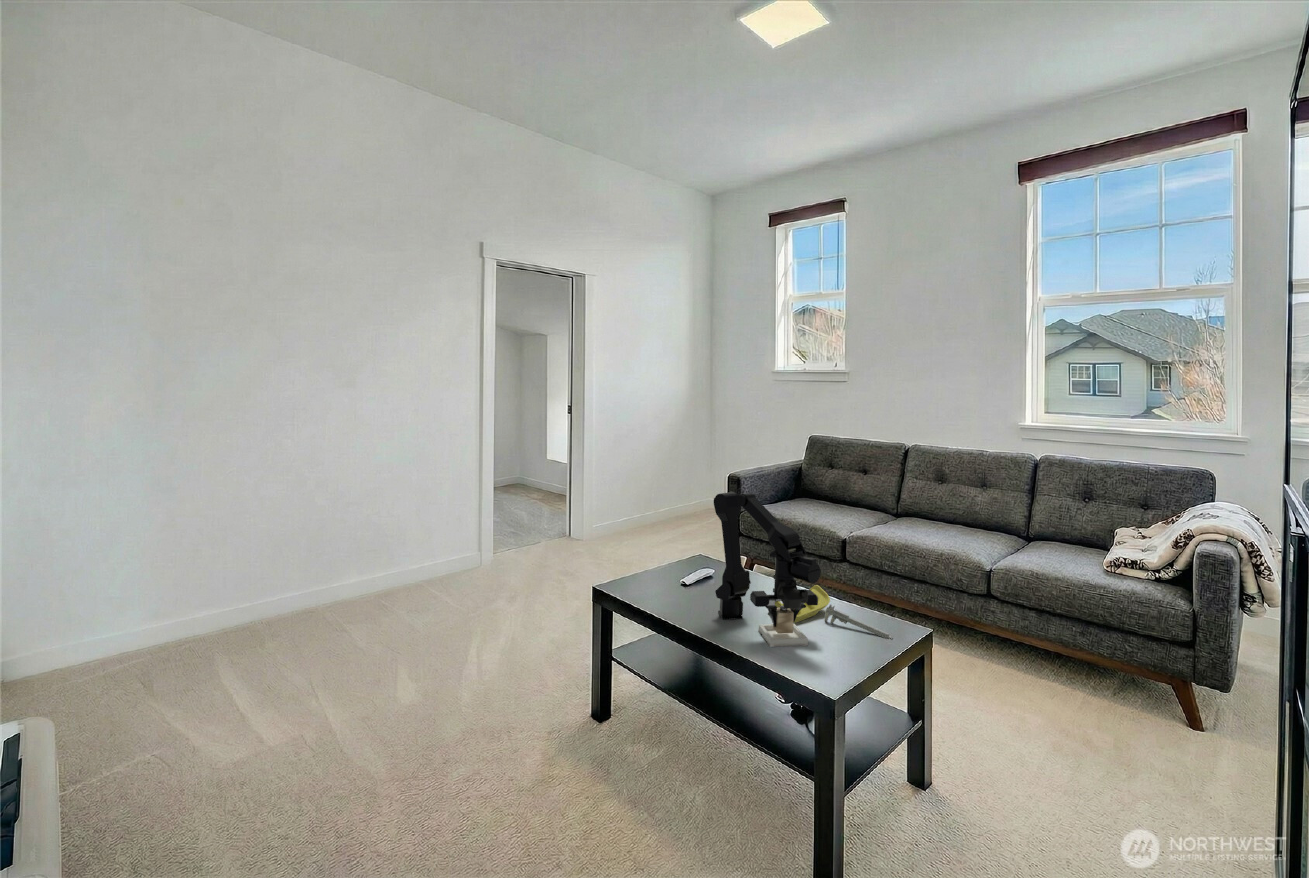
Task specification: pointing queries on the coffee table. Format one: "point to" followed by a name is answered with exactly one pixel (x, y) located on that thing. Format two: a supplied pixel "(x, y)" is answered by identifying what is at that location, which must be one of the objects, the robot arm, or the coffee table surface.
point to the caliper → (852, 621)
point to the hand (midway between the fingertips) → (782, 626)
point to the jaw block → (784, 620)
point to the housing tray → (783, 636)
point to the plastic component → (811, 609)
